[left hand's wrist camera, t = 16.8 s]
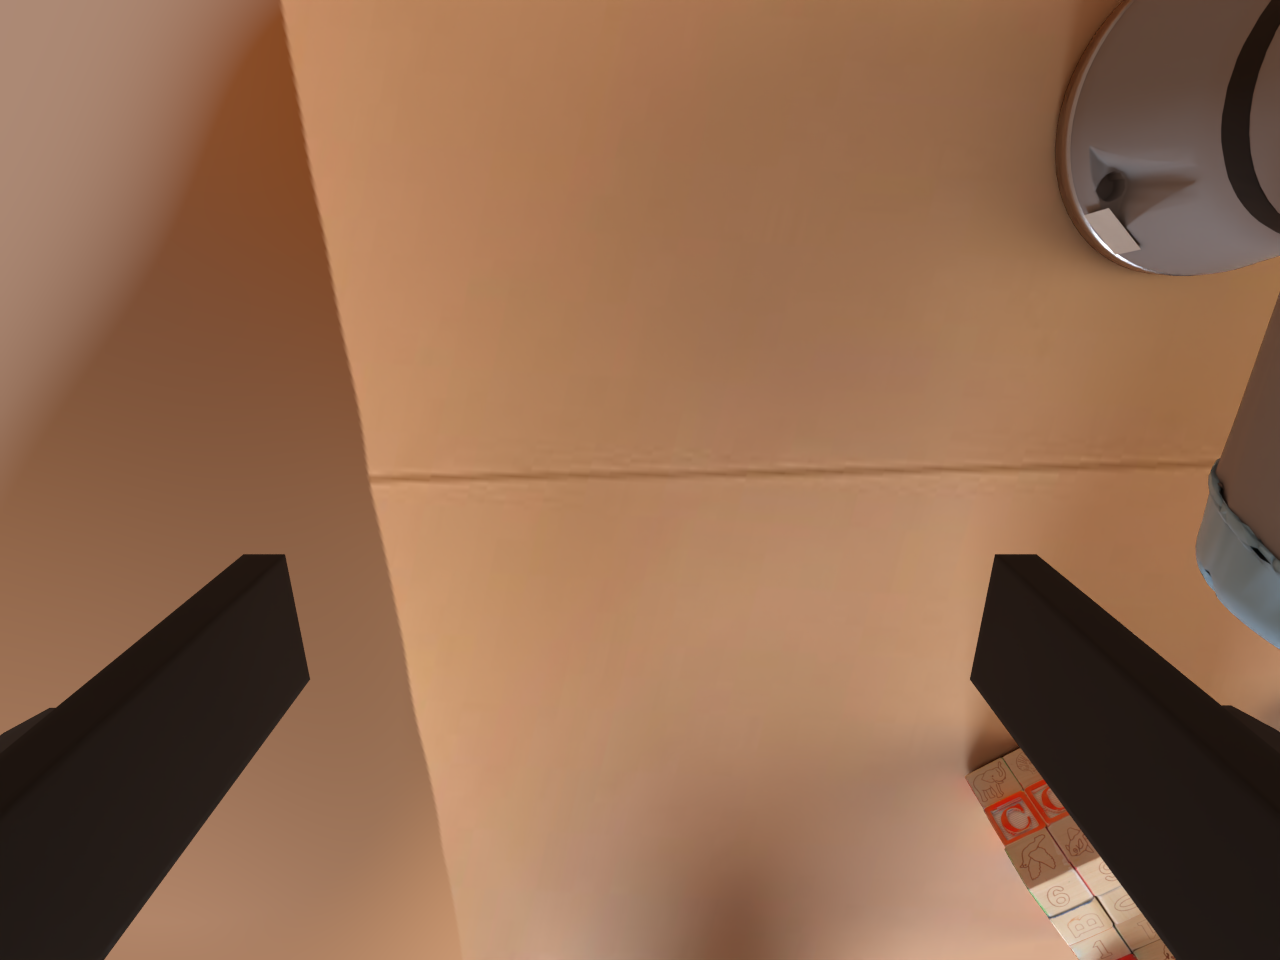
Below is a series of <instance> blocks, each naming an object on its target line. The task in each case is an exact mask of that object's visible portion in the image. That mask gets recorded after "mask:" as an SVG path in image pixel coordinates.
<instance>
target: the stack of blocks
mask: <svg viewBox="0 0 1280 960" xmlns="http://www.w3.org/2000/svg"><path fill="white" fill-rule="evenodd" d="M965 778H966V780H967V782H968V784H969V785H970V787H971V789H972V791H973V792H974V794H975V796H976V797H977V799H978V801H979V802H980V804H981V805H982V807H983V809H984V812H985V814H986V816H987V817H988V819H989V821H990V823H991V824H992V826H993V828H994V829H995V831H996V833H997V834H998V836H999V838H1000V840H1001V841H1002V843H1003V845H1004V846H1005V851H1006V853H1007V855H1008V857H1009V858H1010V860H1011V862H1012V864H1013V865H1014V867H1015V869H1016V870H1017V872H1018V874H1019V875H1020V877H1021V879H1022V881H1023V882H1024V884H1025V886H1026V887H1027V889H1028V890H1029V892H1030V893H1031V895H1032V896H1033V897H1034V899H1035V900H1036V901H1037V903H1038V904H1039V905H1040V907H1041V908H1042V909H1043V911H1044V912H1045V913H1046V915H1047V916H1048V918H1049V920H1050V921H1051V923H1052V924H1053V925H1054V927H1055V928H1056V929H1057V931H1058V932H1059V933H1060V935H1061V936H1062V937H1063V939H1064V940H1065V942H1066V943H1067V944H1068V946H1069V947H1070V949H1071V950H1072V951H1073V953H1074V954H1075V955H1076V957H1077V958H1078V959H1079V960H1176V959H1175V958H1174V956H1173V955H1172V954H1171V952H1170V951H1169V949H1168V948H1167V947H1166V945H1165V944H1164V943H1163V941H1162V940H1161V939H1160V937H1159V936H1158V935H1157V933H1156V932H1155V930H1154V929H1153V928H1152V926H1151V925H1150V924H1149V922H1148V921H1147V920H1146V918H1145V917H1144V915H1143V914H1142V913H1141V911H1140V910H1139V909H1138V907H1137V906H1136V905H1135V903H1134V902H1133V900H1132V899H1131V898H1130V896H1129V895H1128V894H1127V892H1126V891H1125V890H1124V888H1123V887H1122V885H1121V884H1120V883H1119V881H1118V880H1117V879H1116V877H1115V876H1114V875H1113V873H1112V872H1111V871H1110V869H1109V868H1108V866H1107V865H1106V864H1105V862H1104V861H1103V860H1102V858H1101V857H1100V856H1099V854H1098V853H1097V851H1096V850H1095V849H1094V847H1093V846H1092V845H1091V843H1090V842H1089V841H1088V839H1087V838H1086V836H1085V835H1084V834H1083V832H1082V831H1081V830H1080V828H1079V827H1078V826H1077V824H1076V823H1075V822H1074V820H1073V819H1072V817H1071V816H1070V815H1069V813H1068V812H1067V811H1066V809H1065V808H1064V807H1063V805H1062V804H1061V802H1060V801H1059V800H1058V798H1057V797H1056V796H1055V794H1054V793H1053V792H1052V790H1051V789H1050V787H1049V786H1048V785H1047V783H1046V782H1045V781H1044V779H1043V778H1042V777H1041V775H1040V774H1039V773H1038V771H1037V770H1036V768H1035V767H1034V766H1033V764H1032V763H1031V762H1030V760H1029V759H1028V758H1027V756H1026V755H1025V753H1024V752H1023V751H1022V749H1021V748H1019V749H1017V750H1015V751H1013V752H1011V753H1009V754H1007V755H1005V756H1004V757H1003V758H999V759H997V760H995V761H993V762H991V763H989V764H987V765H985V766H983V767H981V768H979V769H977V770H975V771H973V772H972V773H970V774H968V775H966V776H965Z"/></svg>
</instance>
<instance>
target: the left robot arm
mask: <svg viewBox="0 0 1280 960" xmlns="http://www.w3.org/2000/svg"><path fill="white" fill-rule="evenodd" d="M1055 160H1056V173H1057V179H1058V185H1059V189H1060V193H1061V197H1062V200H1063V203H1064V205H1065V208H1066V210H1067V213H1068V215H1069V216H1070V218H1071V220H1072V222H1073V224H1074V225H1075V227H1076V228H1077V230H1078V231H1079V233H1080V234H1081V235H1082V236H1083V238H1084V239H1085V240H1086V241H1087V242H1088V243H1089V244H1090V245H1091V246H1092V247H1093V248H1094V249H1095V250H1097V251H1098V252H1099V253H1100V254H1102V255H1103V256H1105V257H1106V258H1108V259H1109V260H1111V261H1113V262H1115V263H1117V264H1119V265H1121V266H1124V267H1127V268H1129V269H1132V270H1136V271H1140V272H1144V273H1152V274H1161V275H1172V276H1193V275H1203V274H1213V273H1220V272H1226V271H1230V270H1235V269H1239V268H1242V267H1245V266H1248V265H1252V264H1254V263H1257V262H1261V261H1264V260H1267V259H1271V258H1274V257H1277V256H1280V0H1123V1H1122V2H1121V3H1120V5H1119V6H1118V7H1117V8H1116V9H1115V10H1114V11H1113V12H1112V13H1111V14H1110V16H1109V17H1108V18H1107V19H1106V21H1105V22H1104V23H1103V24H1102V26H1101V27H1100V28H1099V30H1098V31H1097V33H1096V34H1095V35H1094V37H1093V38H1092V40H1091V41H1090V43H1089V44H1088V46H1087V48H1086V50H1085V51H1084V53H1083V55H1082V57H1081V58H1080V60H1079V62H1078V65H1077V67H1076V69H1075V71H1074V73H1073V75H1072V77H1071V80H1070V83H1069V85H1068V88H1067V91H1066V93H1065V97H1064V100H1063V104H1062V107H1061V111H1060V116H1059V121H1058V126H1057V135H1056V150H1055ZM1208 485H1209V492H1210V493H1209V497H1208V500H1207V504H1206V508H1205V512H1204V516H1203V519H1202V523H1201V526H1200V529H1199V533H1198V536H1197V541H1196V559H1197V563H1198V567H1199V570H1200V572H1201V573H1202V575H1203V577H1204V579H1205V580H1206V582H1207V584H1208V585H1209V586H1210V587H1211V588H1212V589H1213V590H1214V591H1215V593H1216V596H1217V597H1218V599H1219V600H1220V601H1221V603H1222V604H1223V605H1224V606H1225V607H1226V608H1227V609H1228V610H1229V611H1230V612H1231V613H1232V614H1233V615H1234V616H1236V617H1237V618H1238V619H1239V620H1240V621H1242V622H1243V623H1244V624H1245V625H1247V626H1248V627H1249V628H1250V629H1251V630H1253V631H1254V632H1255V633H1257V634H1258V635H1259V636H1261V637H1262V638H1264V639H1265V640H1267V641H1268V642H1269V643H1271V644H1272V645H1274V646H1275V647H1277V648H1278V649H1280V293H1279V296H1278V299H1277V302H1276V305H1275V307H1274V310H1273V313H1272V316H1271V319H1270V322H1269V325H1268V327H1267V330H1266V333H1265V336H1264V339H1263V342H1262V344H1261V347H1260V350H1259V353H1258V356H1257V359H1256V362H1255V364H1254V367H1253V370H1252V373H1251V376H1250V379H1249V382H1248V384H1247V387H1246V390H1245V393H1244V396H1243V399H1242V402H1241V404H1240V407H1239V410H1238V413H1237V416H1236V418H1235V421H1234V424H1233V426H1232V429H1231V432H1230V434H1229V437H1228V439H1227V442H1226V445H1225V447H1224V450H1223V453H1222V455H1221V458H1220V459H1217V460H1216V462H1215V464H1214V465H1213V467H1212V470H1211V473H1210V475H1209V479H1208ZM309 680H310V677H309V672H308V667H307V662H306V657H305V652H304V647H303V642H302V637H301V632H300V627H299V622H298V617H297V612H296V607H295V602H294V597H293V592H292V587H291V582H290V577H289V572H288V567H287V563H286V558H285V555H284V554H244V555H242V556H241V557H240V558H239V559H237V560H236V561H235V562H234V563H232V564H231V565H230V566H229V567H228V568H226V569H225V570H224V571H223V572H222V573H220V574H219V575H218V576H217V577H215V578H214V579H213V580H212V581H210V582H209V583H208V584H207V585H206V586H204V587H203V588H202V589H201V590H199V591H198V592H197V593H196V594H195V595H193V596H192V597H191V598H190V599H188V600H187V601H186V602H185V603H184V604H182V605H181V606H180V607H179V608H177V609H176V610H175V611H174V612H173V613H171V614H170V615H169V616H168V617H166V618H165V619H164V620H163V621H162V622H160V623H159V624H158V625H157V626H155V627H154V628H153V629H152V630H151V631H149V632H148V633H147V634H146V635H144V636H143V637H142V638H141V639H140V640H138V641H137V642H136V643H135V644H133V645H132V646H131V647H130V648H129V649H127V650H126V651H125V652H124V653H122V654H121V655H120V656H119V657H118V658H116V659H115V660H114V661H113V662H111V663H110V664H109V665H108V666H107V667H105V668H104V669H103V670H102V671H100V672H99V673H98V674H97V675H96V676H94V677H93V678H92V679H91V680H89V681H88V682H87V683H86V684H85V685H83V686H82V687H81V688H80V689H79V690H77V691H76V692H75V693H74V694H72V695H71V696H70V697H69V698H67V699H66V700H65V701H64V702H63V703H61V704H60V705H59V706H58V707H56V708H49V709H47V710H45V711H43V712H41V713H40V714H38V715H36V716H34V717H32V718H30V719H29V720H27V721H25V722H23V723H21V724H19V725H17V726H16V727H14V728H12V729H10V730H8V731H6V732H5V733H3V734H2V735H0V960H104V959H105V958H106V956H107V955H108V954H109V952H110V951H111V949H112V948H113V947H114V945H115V944H116V943H117V941H118V940H119V939H120V937H121V936H122V934H123V933H124V932H125V930H126V929H127V928H128V926H129V925H130V924H131V922H132V921H133V920H134V918H135V917H136V915H137V914H138V913H139V911H140V910H141V909H142V907H143V906H144V905H145V903H146V902H147V900H148V899H149V898H150V896H151V895H152V894H153V892H154V891H155V890H156V888H157V887H158V885H159V884H160V883H161V881H162V880H163V879H164V877H165V876H166V875H167V873H168V872H169V871H170V869H171V868H172V866H173V865H174V864H175V862H176V861H177V860H178V858H179V857H180V856H181V854H182V853H183V851H184V850H185V849H186V847H187V846H188V845H189V843H190V842H191V841H192V839H193V838H194V836H195V835H196V834H197V832H198V831H199V830H200V828H201V827H202V826H203V824H204V823H205V821H206V820H207V819H208V817H209V816H210V815H211V813H212V812H213V811H214V809H215V808H216V807H217V805H218V804H219V802H220V801H221V800H222V798H223V797H224V796H225V794H226V793H227V792H228V790H229V789H230V787H231V786H232V785H233V783H234V782H235V781H236V779H237V778H238V777H239V775H240V774H241V773H242V771H243V770H244V768H245V767H246V766H247V764H248V763H249V762H250V760H251V759H252V757H253V756H254V755H255V753H256V752H257V751H258V749H259V748H260V747H261V745H262V744H263V743H264V741H265V740H266V738H267V737H268V736H269V734H270V733H271V732H272V730H273V729H274V728H275V726H276V725H277V723H278V722H279V721H280V719H281V718H282V717H283V715H284V714H285V713H286V711H287V710H288V709H289V707H290V706H291V704H292V703H293V702H294V700H295V699H296V698H297V696H298V695H299V694H300V692H301V691H302V689H303V688H304V687H305V685H306V684H307V683H308V681H309ZM970 680H971V681H972V683H973V684H974V685H975V687H976V688H977V689H978V691H979V692H980V694H981V695H982V696H983V698H984V699H985V700H986V702H987V703H988V704H989V706H990V707H991V709H992V710H993V711H994V713H995V714H996V715H997V717H998V718H999V719H1000V721H1001V722H1002V724H1003V725H1004V726H1005V728H1006V729H1007V730H1008V732H1009V733H1010V734H1011V736H1012V737H1013V738H1014V740H1015V741H1016V743H1017V744H1018V745H1019V747H1020V748H1021V749H1022V751H1023V752H1024V753H1025V755H1026V756H1027V758H1028V759H1029V760H1030V762H1031V763H1032V764H1033V766H1034V767H1035V768H1036V770H1037V771H1038V773H1039V774H1040V775H1041V777H1042V778H1043V779H1044V781H1045V782H1046V783H1047V785H1048V786H1049V787H1050V789H1051V790H1052V792H1053V793H1054V794H1055V796H1056V797H1057V798H1058V800H1059V801H1060V802H1061V804H1062V805H1063V807H1064V808H1065V809H1066V811H1067V812H1068V813H1069V815H1070V816H1071V817H1072V819H1073V820H1074V822H1075V823H1076V824H1077V826H1078V827H1079V828H1080V830H1081V831H1082V832H1083V834H1084V835H1085V836H1086V838H1087V839H1088V841H1089V842H1090V843H1091V845H1092V846H1093V847H1094V849H1095V850H1096V851H1097V853H1098V854H1099V856H1100V857H1101V858H1102V860H1103V861H1104V862H1105V864H1106V865H1107V866H1108V868H1109V869H1110V871H1111V872H1112V873H1113V875H1114V876H1115V877H1116V879H1117V880H1118V881H1119V883H1120V884H1121V885H1122V887H1123V888H1124V890H1125V891H1126V892H1127V894H1128V895H1129V896H1130V898H1131V899H1132V900H1133V902H1134V903H1135V905H1136V906H1137V907H1138V909H1139V910H1140V911H1141V913H1142V914H1143V915H1144V917H1145V918H1146V920H1147V921H1148V922H1149V924H1150V925H1151V926H1152V928H1153V929H1154V930H1155V932H1156V933H1157V935H1158V936H1159V937H1160V939H1161V940H1162V941H1163V943H1164V944H1165V945H1166V947H1167V948H1168V949H1169V951H1170V952H1171V954H1172V955H1173V956H1174V958H1175V959H1176V960H1280V732H1279V731H1277V730H1275V729H1274V728H1272V727H1270V726H1268V725H1266V724H1264V723H1263V722H1261V721H1259V720H1257V719H1255V718H1253V717H1251V716H1250V715H1248V714H1246V713H1244V712H1242V711H1240V710H1238V709H1237V708H1235V707H1233V706H1221V705H1220V704H1219V703H1217V702H1216V701H1215V700H1214V699H1213V698H1211V697H1210V696H1209V695H1208V694H1206V693H1205V692H1204V691H1203V690H1202V689H1200V688H1199V687H1198V686H1197V685H1195V684H1194V683H1193V682H1192V681H1191V680H1189V679H1188V678H1187V677H1186V676H1184V675H1183V674H1182V673H1181V672H1180V671H1178V670H1177V669H1176V668H1175V667H1173V666H1172V665H1171V664H1170V663H1169V662H1167V661H1166V660H1165V659H1164V658H1162V657H1161V656H1160V655H1159V654H1158V653H1156V652H1155V651H1154V650H1153V649H1151V648H1150V647H1149V646H1148V645H1147V644H1145V643H1144V642H1143V641H1142V640H1140V639H1139V638H1138V637H1137V636H1136V635H1134V634H1133V633H1132V632H1131V631H1129V630H1128V629H1127V628H1126V627H1125V626H1123V625H1122V624H1121V623H1120V622H1118V621H1117V620H1116V619H1115V618H1114V617H1112V616H1111V615H1110V614H1109V613H1107V612H1106V611H1105V610H1104V609H1103V608H1101V607H1100V606H1099V605H1098V604H1096V603H1095V602H1094V601H1093V600H1092V599H1090V598H1089V597H1088V596H1087V595H1085V594H1084V593H1083V592H1082V591H1081V590H1079V589H1078V588H1077V587H1076V586H1074V585H1073V584H1072V583H1071V582H1070V581H1068V580H1067V579H1066V578H1065V577H1063V576H1062V575H1061V574H1060V573H1059V572H1057V571H1056V570H1055V569H1054V568H1052V567H1051V566H1050V565H1049V564H1048V563H1046V562H1045V561H1044V560H1043V559H1041V558H1040V557H1039V556H1038V555H1037V554H995V557H994V562H993V567H992V572H991V577H990V582H989V587H988V592H987V597H986V602H985V607H984V612H983V617H982V622H981V627H980V632H979V637H978V642H977V647H976V652H975V657H974V662H973V667H972V672H971V677H970Z"/></svg>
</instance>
